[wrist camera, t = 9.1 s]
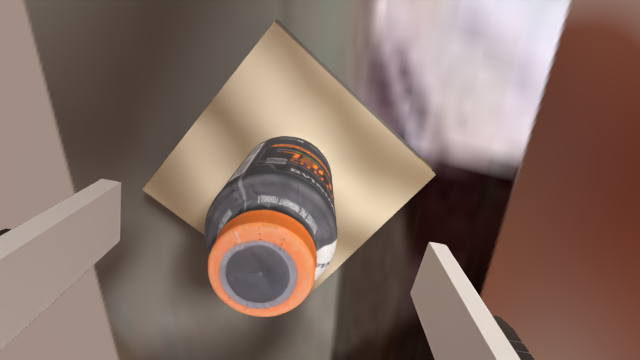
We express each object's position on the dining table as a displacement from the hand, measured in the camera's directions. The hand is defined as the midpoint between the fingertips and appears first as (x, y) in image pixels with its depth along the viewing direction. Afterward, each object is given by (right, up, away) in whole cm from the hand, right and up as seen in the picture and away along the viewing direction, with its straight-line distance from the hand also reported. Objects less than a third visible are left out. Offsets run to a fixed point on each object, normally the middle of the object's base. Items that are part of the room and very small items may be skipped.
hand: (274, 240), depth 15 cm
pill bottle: (0, +3, +9) cm, 9 cm away
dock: (0, +3, +11) cm, 12 cm away
